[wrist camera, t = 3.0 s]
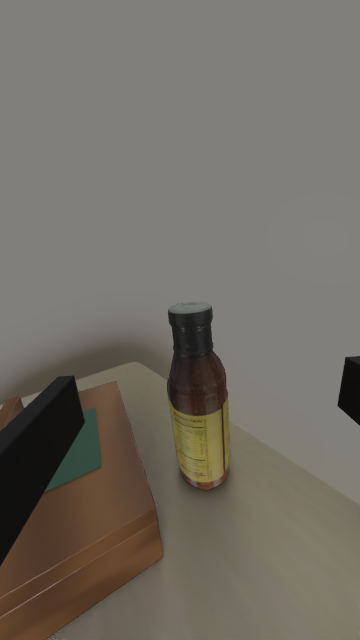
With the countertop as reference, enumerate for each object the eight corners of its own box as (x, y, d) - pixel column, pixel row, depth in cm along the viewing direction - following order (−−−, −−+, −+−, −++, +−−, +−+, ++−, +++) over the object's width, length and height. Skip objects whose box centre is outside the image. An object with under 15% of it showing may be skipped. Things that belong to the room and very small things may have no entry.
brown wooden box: (122, 411, 34) (114, 369, 32) (163, 556, 17) (152, 487, 15) (23, 446, 29) (6, 399, 27) (-67, 718, 11) (-139, 646, 9)
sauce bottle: (202, 435, 28) (194, 296, 23) (241, 466, 24) (242, 301, 18) (165, 466, 24) (145, 307, 19) (203, 511, 20) (190, 318, 14)
